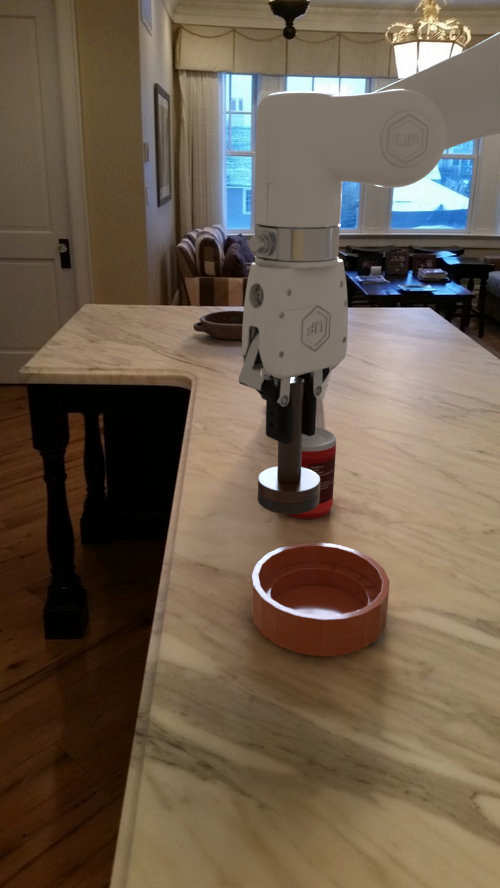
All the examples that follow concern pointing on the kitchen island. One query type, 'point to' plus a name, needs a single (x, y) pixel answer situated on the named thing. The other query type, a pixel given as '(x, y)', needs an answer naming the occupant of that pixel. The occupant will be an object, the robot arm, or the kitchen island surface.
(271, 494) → the brown coffee tamper
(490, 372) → the kitchen island surface
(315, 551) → the bowl
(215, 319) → the dish
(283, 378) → the robot arm
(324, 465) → the canned food
